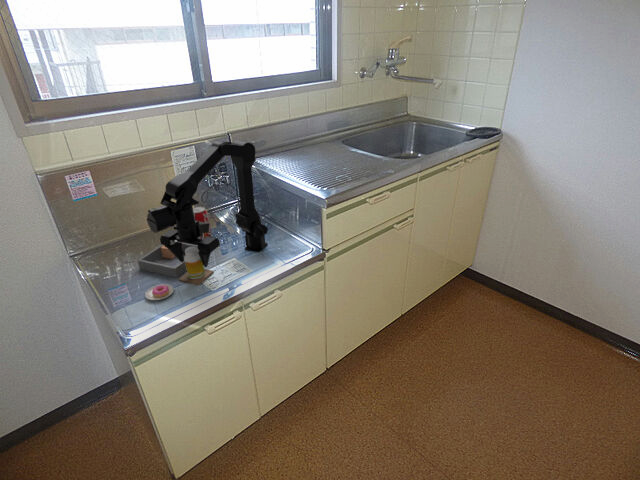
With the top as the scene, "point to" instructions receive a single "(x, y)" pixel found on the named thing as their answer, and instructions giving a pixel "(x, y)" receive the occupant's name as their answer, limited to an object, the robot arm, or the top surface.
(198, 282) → the walnut coaster
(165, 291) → the donut
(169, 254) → the terracotta cube
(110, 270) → the top surface
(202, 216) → the soda can
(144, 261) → the bin rim
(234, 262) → the top surface
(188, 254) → the supplement bottle
